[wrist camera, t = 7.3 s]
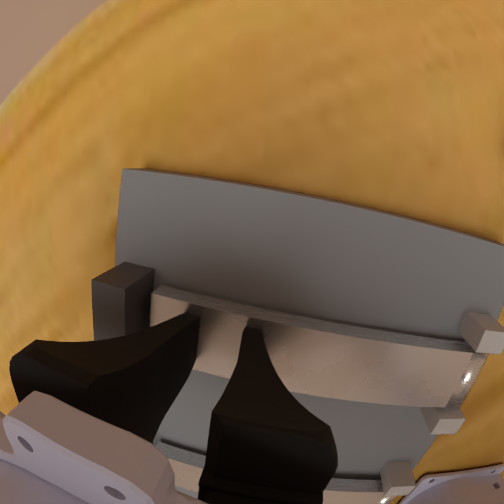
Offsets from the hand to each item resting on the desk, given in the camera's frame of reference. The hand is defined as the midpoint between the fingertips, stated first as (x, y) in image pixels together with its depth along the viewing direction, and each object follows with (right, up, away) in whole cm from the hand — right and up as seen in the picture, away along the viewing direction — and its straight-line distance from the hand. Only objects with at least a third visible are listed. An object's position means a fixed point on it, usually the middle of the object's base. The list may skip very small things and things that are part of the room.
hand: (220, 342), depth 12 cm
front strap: (+4, -1, +1) cm, 4 cm away
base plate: (+3, -5, +4) cm, 7 cm away
